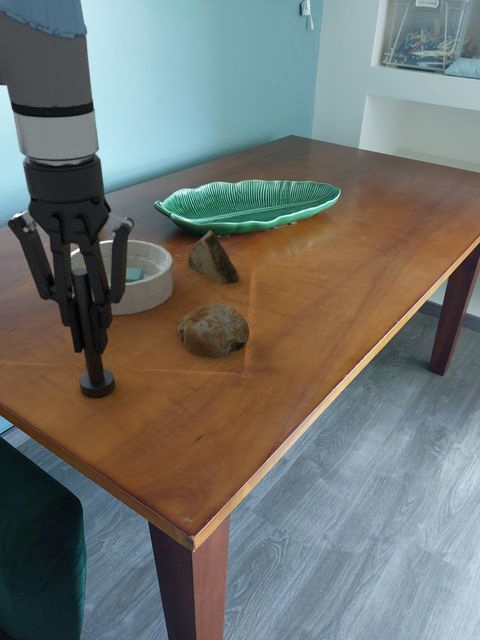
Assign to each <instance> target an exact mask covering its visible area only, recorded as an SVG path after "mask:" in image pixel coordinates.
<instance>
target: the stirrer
mask: <svg viewBox="0 0 480 640" xmlns="http://www.w3.org/2000/svg"><path fill="white" fill-rule="evenodd" d="M71 278H72V284H73V290H74V295H75V301H76V307H77V313H78V319H79V325H80V331H81V337H82V343H83V354H84V359H85V365H86V370H87V371H85V372H84V373H82V374H81V375H80V377H79V379H78V383H79V388H80V391H81V393H82V395H84V396H86V397H88V398H92V399H93V398H94V399H95V398H102V397H106V396H108V395H109V394H111V393H112V392H113V391H114V389H115V388H116V380H115V375H114V373H113V371H111V370H110V369H107V368H104V365H103V363H104V362H103V356H102V354H97V353H96V347H95V340H94V334H93V327H92V321H91V314H90V307H91V305H92V304H93V295H92V289H91V285H90V281H89V277H88V273H87V269H86V268H76V269H73V270H72V271H71Z"/></svg>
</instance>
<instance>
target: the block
mask: <svg viewBox="0 0 480 640" xmlns="http://www.w3.org/2000/svg"><path fill="white" fill-rule="evenodd" d="M143 279H144V274H143V269H135V268H126V283H130V282H135V281H139V280H143Z"/></svg>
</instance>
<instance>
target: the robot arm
mask: <svg viewBox="0 0 480 640" xmlns="http://www.w3.org/2000/svg"><path fill="white" fill-rule="evenodd" d="M87 28H88V27H87V25H86V24H85V19H84V12H83V7H82V1H81V0H0V86H6V89H7V93H8V98H9V102H10V107H11V110H12V116H13V121H14V126H15V132H16V137H17V143H18V149H19V152H20V153H21V154H22V155H23V156H24V158H23V160H22V167H23V173H24V177H25V183H26V187H27V192H28V194H29V197H30V199H29V204H28V206H27V210H25V211H18V212H17V213H15V214H14V215H13V216H12V217H11V218H10V219H9V220H8V221H7V226H8V228H9V229H10V230H11V232H12V233H13V235H14V236H15V237H16V238H17V239H18V241H19V244H20V246H21V249H22V252H23V255H24V258H25V260H26V262H27V265H28V266H27V267H28V268H29V271H30V273H31V275H32V279H33V281H34V284H35V287H36V291H37V293H38V295H39V297H40V299H41V300H43V301H48V300H50V301H53V302H55V303H56V304H57V305H58V309H59V315H60V321H61V324H62V326H63V327H64V328H65V327H67V328H70V335H71V339H72V344H73V350H74V353H75V354H82V352H83V351H84V348H83V343H82V337H81V331H80V325H79V319H78V313H77V307H76V301H75V296H73V298H72V294H73V293H74V290H73V284H72V278H71V271H72V266H71V253H72V251H71V249H72V248H71V244H74V245H77V246H78V248H79V250H80V253H81V254H82V255H83V258H84V262H85V265H86V269H87V273H88V277H89V281H90V285H91V289H92V292H93V296H94V302H93V304H92V305H91V307H90V314H91V321H92V327H93V334H94V340H95V347H96V353H97V354H101V355H103V354H104V352H105V350H106V348H107V346H108V343H109V338H108V337H109V336H108V330H109V329H110V327H111V325H112V323H113V320H114V318H113V315H112V309H111V303H114V304H118V303H119V302H120V301H121V299H122V297H123V295H124V293H125V286H126V267H127V249H128V240H129V236H130V234H131V232H132V230H133V229H134V227H135V221H134V218H131V217H125V218H123V217H121V216H119V215H117V214H116V213H114V212H112V208H111V206H110V204H109V202H108V201H107V198H106V195H105V185H104V175H103V169H102V160H101V157H99V156H98V154H97V153H98V151H99V150H100V144H99V136H98V127H97V117H96V109H95V106H94V105H95V104H94V99H93V93H92V91H93V90H92V81H91V73H90V71H91V70H90V62H89V52H88V51H89V50H88V41H87V35H88V29H87ZM105 225H108V227H109V234H110V236H111V237H112V238H113V239H112V240H113V243H112V259H111V287H110V288H109V284H108V280H107V276H106V271H105V267H104V263H103V259H102V254H101V250H100V242H101V241H100V235H99V234H100V233H101V232H102V230H103V228H104V227H105ZM38 226H39V227H40V228H41V229H42V230H43V231H44V232H45V234H46V235H47V236H48V238H49V250H50V252H51V254H52V264H53V265H52V267H53V271H52V267H51V265H50V261H49V259H48V255H47V252H46V250H45V247H44V244H43V241H42V239H41V236H40V233H39V231H38V228H37V227H38ZM107 329H108V330H107Z"/></svg>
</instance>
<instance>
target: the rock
mask: <svg viewBox="0 0 480 640" xmlns="http://www.w3.org/2000/svg"><path fill="white" fill-rule="evenodd" d="M187 265H188V267H190V268H192V269H194V270H195V271H197V272H198V273H200V274H202V275H204V276H206V277H207V278H209V279H210V280H212V281H214V282H215V283H216V284H219V285H224V284H235V283H239V282H241V277H240V274H239V272H238V270H237V268H236V267H235V266H236V265H234V264H233V262H232V261H231V259H230V256H229V255H228V253H227V251H226V249H225V248H224V246H223V245H222V243H221V242H220V241H219V240H218V238H217V236H216V235H215V234H214V232H213V231H212V230H208V231H207V233H206V234H204V235H203V237H201V238H200V239H199V240H198V241H197V242H195V243H194V244H193V246H192V248H190V250H189V252H188V258H187Z"/></svg>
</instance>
